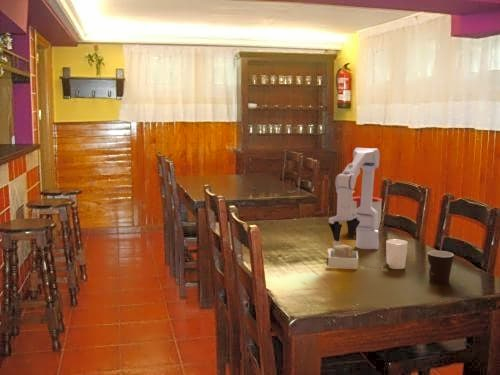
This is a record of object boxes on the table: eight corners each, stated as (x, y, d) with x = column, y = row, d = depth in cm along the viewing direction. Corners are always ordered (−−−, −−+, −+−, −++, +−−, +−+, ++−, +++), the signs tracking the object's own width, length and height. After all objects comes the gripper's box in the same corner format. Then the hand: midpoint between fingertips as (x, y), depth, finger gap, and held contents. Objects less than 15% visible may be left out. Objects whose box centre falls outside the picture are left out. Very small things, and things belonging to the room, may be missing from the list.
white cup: (406, 265, 208) (408, 240, 206) (405, 270, 200) (407, 244, 199) (386, 263, 210) (387, 238, 209) (384, 268, 203) (385, 243, 202)
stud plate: (344, 251, 227) (344, 237, 226) (344, 256, 220) (344, 241, 219) (327, 251, 228) (328, 236, 227) (327, 255, 221) (327, 240, 220)
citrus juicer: (344, 235, 257) (345, 194, 254) (352, 228, 273) (353, 189, 270) (377, 238, 251) (379, 196, 248) (383, 230, 267) (384, 191, 264)
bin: (357, 260, 213) (357, 251, 213) (358, 268, 202) (358, 258, 202) (329, 259, 215) (329, 249, 215) (328, 267, 204) (328, 257, 204)
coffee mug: (449, 286, 182) (450, 258, 181) (423, 282, 187) (424, 254, 185) (456, 277, 192) (457, 250, 191) (431, 273, 197) (433, 247, 195)
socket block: (342, 260, 212) (343, 244, 211) (351, 262, 208) (351, 246, 207) (334, 262, 209) (334, 246, 209) (342, 264, 206) (343, 248, 205)
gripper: (338, 208, 198) (337, 244, 200) (365, 204, 206) (364, 238, 208) (325, 205, 204) (324, 240, 206) (352, 202, 212) (351, 235, 214)
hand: (343, 239), depth 208 cm, fingers open, 7 cm apart
